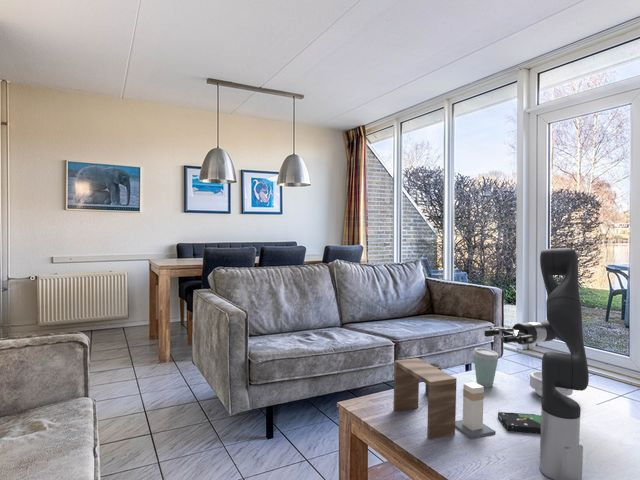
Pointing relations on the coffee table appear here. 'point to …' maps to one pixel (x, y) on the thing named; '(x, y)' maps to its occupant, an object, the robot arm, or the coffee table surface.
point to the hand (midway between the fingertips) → (494, 336)
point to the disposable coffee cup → (485, 366)
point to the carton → (473, 405)
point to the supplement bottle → (427, 384)
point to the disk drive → (520, 422)
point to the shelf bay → (438, 394)
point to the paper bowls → (537, 384)
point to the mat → (473, 433)
